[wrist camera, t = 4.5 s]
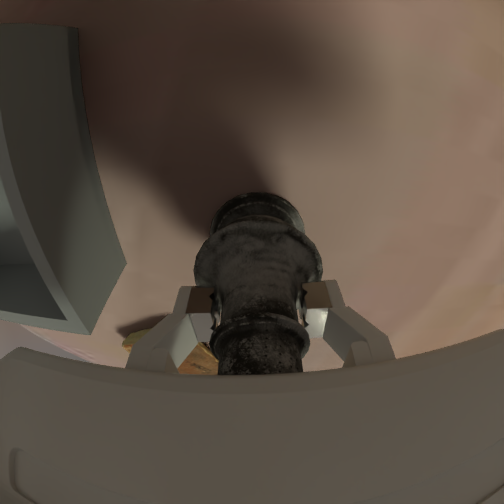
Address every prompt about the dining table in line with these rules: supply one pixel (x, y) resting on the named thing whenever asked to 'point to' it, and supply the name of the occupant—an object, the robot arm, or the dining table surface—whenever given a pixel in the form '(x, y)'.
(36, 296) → the box
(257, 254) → the stone chess piece
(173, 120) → the dining table surface
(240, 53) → the dining table surface
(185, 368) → the shard
